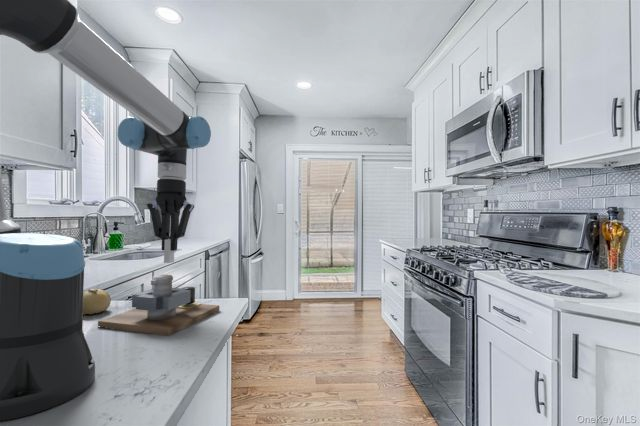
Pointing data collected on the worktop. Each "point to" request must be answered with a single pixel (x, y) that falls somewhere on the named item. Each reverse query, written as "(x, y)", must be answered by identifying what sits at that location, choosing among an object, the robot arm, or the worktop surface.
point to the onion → (95, 301)
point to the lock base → (158, 326)
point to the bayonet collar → (163, 299)
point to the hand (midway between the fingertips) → (168, 262)
